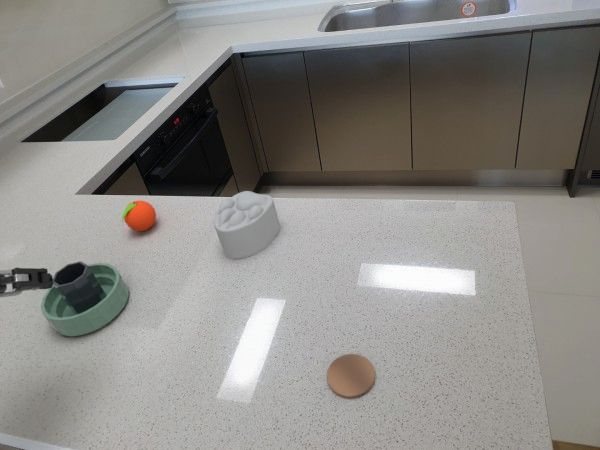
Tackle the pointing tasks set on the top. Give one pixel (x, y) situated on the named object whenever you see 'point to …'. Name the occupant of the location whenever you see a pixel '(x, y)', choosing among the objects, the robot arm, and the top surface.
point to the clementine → (139, 215)
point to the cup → (78, 287)
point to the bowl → (95, 316)
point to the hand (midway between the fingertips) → (22, 286)
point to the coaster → (351, 376)
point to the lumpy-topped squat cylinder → (246, 224)
